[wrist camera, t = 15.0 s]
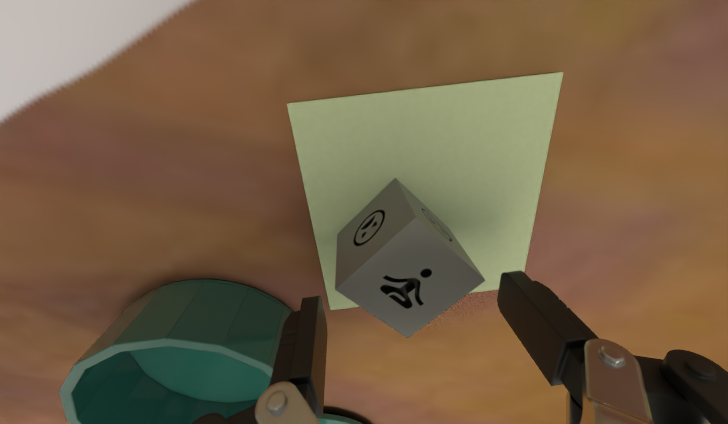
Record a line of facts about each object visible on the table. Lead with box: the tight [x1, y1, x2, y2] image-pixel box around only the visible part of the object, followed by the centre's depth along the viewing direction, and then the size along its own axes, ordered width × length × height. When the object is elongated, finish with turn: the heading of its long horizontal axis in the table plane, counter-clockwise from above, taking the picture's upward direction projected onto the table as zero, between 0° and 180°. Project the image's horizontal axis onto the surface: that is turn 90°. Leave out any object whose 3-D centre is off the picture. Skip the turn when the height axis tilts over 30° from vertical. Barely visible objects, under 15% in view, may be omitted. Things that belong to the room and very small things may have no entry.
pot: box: [59, 279, 292, 424], centre depth 19 cm, size 14×14×5 cm
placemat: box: [287, 72, 563, 310], centre depth 17 cm, size 14×14×1 cm
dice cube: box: [335, 178, 486, 338], centre depth 15 cm, size 5×5×5 cm
